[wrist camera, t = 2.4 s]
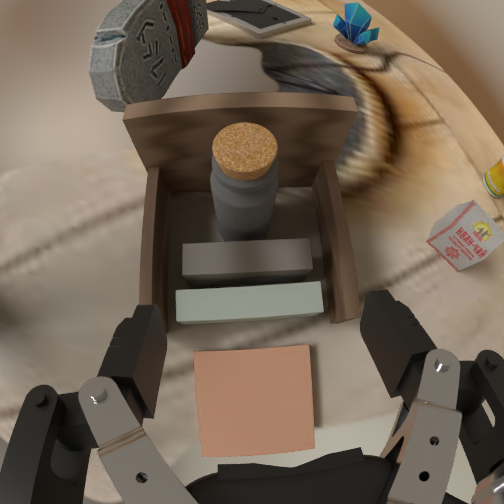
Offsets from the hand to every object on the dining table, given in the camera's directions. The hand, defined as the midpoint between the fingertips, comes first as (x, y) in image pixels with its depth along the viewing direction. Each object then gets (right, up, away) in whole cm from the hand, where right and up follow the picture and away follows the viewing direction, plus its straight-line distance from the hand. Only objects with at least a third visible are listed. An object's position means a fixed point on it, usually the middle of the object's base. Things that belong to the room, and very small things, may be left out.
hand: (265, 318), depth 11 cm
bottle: (-1, +5, +24) cm, 24 cm away
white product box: (+27, +3, +24) cm, 36 cm away
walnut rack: (-1, +3, +23) cm, 23 cm away
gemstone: (+21, +47, +38) cm, 64 cm away
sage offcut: (-1, -4, +21) cm, 21 cm away
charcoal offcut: (-1, 0, +22) cm, 22 cm away
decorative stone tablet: (-15, +33, +32) cm, 49 cm away
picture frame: (0, +57, +41) cm, 70 cm away
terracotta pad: (0, -13, +18) cm, 22 cm away
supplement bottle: (+43, +14, +28) cm, 53 cm away
